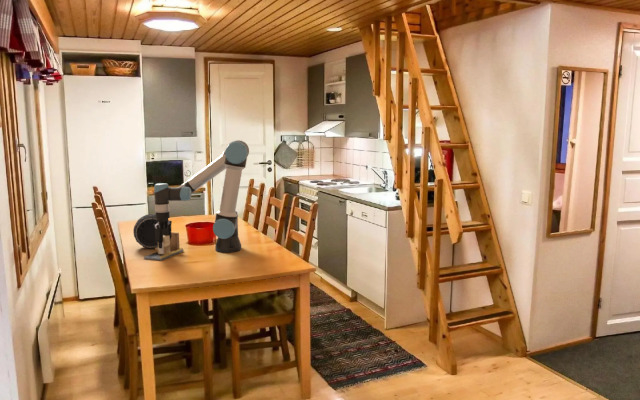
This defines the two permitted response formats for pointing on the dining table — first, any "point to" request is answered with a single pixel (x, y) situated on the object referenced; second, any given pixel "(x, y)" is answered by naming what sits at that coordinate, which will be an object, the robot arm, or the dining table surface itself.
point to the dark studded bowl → (146, 231)
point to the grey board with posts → (173, 249)
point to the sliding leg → (165, 245)
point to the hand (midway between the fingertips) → (164, 252)
